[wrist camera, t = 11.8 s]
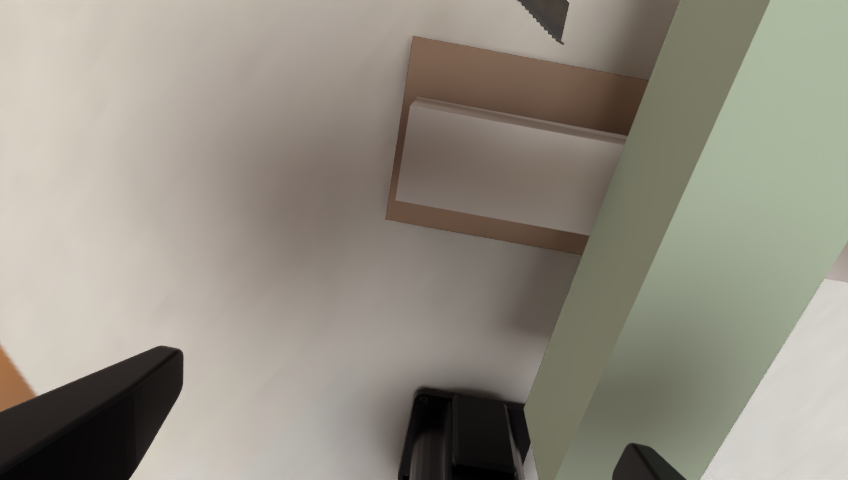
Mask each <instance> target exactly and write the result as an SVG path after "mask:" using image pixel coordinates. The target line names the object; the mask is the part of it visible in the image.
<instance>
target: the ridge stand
mask: <svg viewBox="0 0 848 480" xmlns="http://www.w3.org/2000/svg"><path fill="white" fill-rule="evenodd" d="M648 82H649V80H643V79H638V78H633V77H627V76H622V75H617V74H611V73H606V72H601V71H596V70H590V69H585V68H580V67H574V66H569V65H564V64H559V63H553V62H548V61H543V60H537V59H532V58H527V57H521V56H516V55H511V54H506V53H500V52H495V51H490V50H484V49H479V48H474V47H469V46H463V45H458V44H453V43H447V42H442V41H437V40H431V39H426V38H421V37H416V36H413V39H412V46H411V53H410V59H409V66H408V73H407V79H406V86H405V93H404V99H403V106H402V113H401V119H400V126H399V133H398V139H397V146H396V153H395V159H394V166H393V173H392V179H391V186H390V192H389V199H388V206H387V212H386V220H391V221H397V222H402V223H408V224H413V225H419V226H424V227H430V228H435V229H441V230H446V231H452V232H457V233H463V234H468V235H474V236H479V237H485V238H491V239H496V240H502V241H507V242H513V243H518V244H524V245H529V246H535V247H540V248H546V249H551V250H557V251H562V252H568V253H573V254H579V255H583V252H584V250H585V247H586V245H587V242H588V239H589V237H590V234H591V231H592V229H593V226H594V224H595V221H596V218H597V216H598V213H599V211H600V208H601V205H602V203H603V200H604V197H605V195H606V192H607V190H608V187H609V184H610V182H611V179H612V176H613V174H614V171H615V169H616V166H617V163H618V161H619V158H620V156H621V153H622V150H623V148H624V145H625V142H626V140H627V137H628V135H629V132H630V129H631V127H632V124H633V122H634V119H635V116H636V114H637V111H638V108H639V106H640V103H641V101H642V98H643V95H644V93H645V90H646V87H647V85H648ZM825 278H826V279H831V280H837V281H842V282H848V241H847V243H846V245H845V246H844V248H843V249H842V251H841V253H840V254H839V256H838V257H837V259H836V261H835V262H834V264H833V266H832V267H831V269H830V270H829V272H828V274H827V275H826V277H825Z"/></svg>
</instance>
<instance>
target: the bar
mask: <svg viewBox="0 0 848 480" xmlns="http://www.w3.org/2000/svg"><path fill="white" fill-rule="evenodd" d="M847 241H848V0H680V1H679V4H678V6H677V9H676V12H675V14H674V17H673V19H672V22H671V25H670V27H669V30H668V33H667V35H666V38H665V40H664V43H663V46H662V48H661V51H660V53H659V56H658V59H657V61H656V64H655V67H654V69H653V72H652V74H651V77H650V80H649V82H648V85H647V87H646V90H645V93H644V95H643V98H642V101H641V103H640V106H639V108H638V111H637V114H636V116H635V119H634V122H633V124H632V127H631V129H630V132H629V135H628V137H627V140H626V142H625V145H624V148H623V150H622V153H621V156H620V158H619V161H618V163H617V166H616V169H615V171H614V174H613V176H612V179H611V182H610V184H609V187H608V190H607V192H606V195H605V197H604V200H603V203H602V205H601V208H600V211H599V213H598V216H597V218H596V221H595V224H594V226H593V229H592V231H591V234H590V237H589V239H588V242H587V245H586V247H585V250H584V252H583V255H582V258H581V260H580V263H579V265H578V268H577V271H576V273H575V276H574V279H573V281H572V284H571V286H570V289H569V292H568V294H567V297H566V299H565V302H564V305H563V307H562V310H561V313H560V315H559V318H558V320H557V323H556V326H555V328H554V331H553V334H552V336H551V339H550V341H549V344H548V347H547V349H546V352H545V354H544V357H543V360H542V362H541V365H540V368H539V370H538V373H537V375H536V378H535V381H534V383H533V386H532V388H531V391H530V394H529V396H528V399H527V402H526V404H525V407H524V414H525V418H526V423H527V427H528V432H529V437H530V441H531V446H532V450H533V455H534V460H535V464H536V469H537V473H538V478H539V480H612V474H613V471H614V468H615V466H616V464H617V462H618V461H619V459H620V457H621V455H622V453H623V451H624V449H625V447H626V445H628V444H629V443H637V444H642V445H647V446H649V447H651V448H653V449H654V450H655V451H656V452H657V453H658V454H659V455H660V456H662V457H663V458H664V459H665V460H666V461H667V462H668V463H669V464H670V465H671V466H672V467H673V468H675V469H676V470H677V471H678V472H679V473H680V474H681V475H682V476H683V477H684V478H685V479H687V480H700V479H701V477H702V475H703V474H704V472H705V471H706V469H707V467H708V466H709V464H710V462H711V461H712V459H713V458H714V456H715V454H716V453H717V451H718V450H719V448H720V446H721V445H722V443H723V441H724V440H725V438H726V437H727V435H728V433H729V432H730V430H731V429H732V427H733V425H734V424H735V422H736V421H737V419H738V417H739V416H740V414H741V412H742V411H743V409H744V408H745V406H746V404H747V403H748V401H749V400H750V398H751V396H752V395H753V393H754V391H755V390H756V388H757V387H758V385H759V383H760V382H761V380H762V379H763V377H764V375H765V374H766V372H767V370H768V369H769V367H770V366H771V364H772V362H773V361H774V359H775V358H776V356H777V354H778V353H779V351H780V349H781V348H782V346H783V345H784V343H785V341H786V340H787V338H788V337H789V335H790V333H791V332H792V330H793V329H794V327H795V325H796V324H797V322H798V320H799V319H800V317H801V316H802V314H803V312H804V311H805V309H806V308H807V306H808V304H809V303H810V301H811V299H812V298H813V296H814V295H815V293H816V291H817V290H818V288H819V287H820V285H821V283H822V282H823V280H824V278H825V277H826V275H827V274H828V272H829V270H830V269H831V267H832V266H833V264H834V262H835V261H836V259H837V257H838V256H839V254H840V253H841V251H842V249H843V248H844V246H845V245H846V243H847Z"/></svg>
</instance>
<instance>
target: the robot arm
mask: <svg viewBox="0 0 848 480" xmlns="http://www.w3.org/2000/svg"><path fill="white" fill-rule="evenodd" d="M182 386H183V352H182V351H181V350H180V349H177V348H173V347H168V346H157V347H155V348H152V349H150V350H147V351H145V352H143V353H140V354H138V355H135V356H133V357H131V358H128V359H126V360H124V361H121V362H119V363H116V364H114V365H112V366H109V367H107V368H104V369H102V370H100V371H97V372H95V373H92V374H90V375H88V376H85V377H83V378H80V379H78V380H76V381H73V382H71V383H68V384H66V385H64V386H61V387H59V388H56V389H54V390H52V391H49V392H47V393H44V394H42V395H40V396H37V397H35V398H32V399H30V400H28V401H25V402H23V403H20V404H18V405H16V406H13V407H11V408H8V409H6V410H4V411H1V412H0V480H129V479H130V477H131V476H132V474H133V473H134V471H135V470H136V469H137V467H138V465H139V464H140V462H141V460H142V459H143V457H144V455H145V454H146V452H147V450H148V448H149V447H150V445H151V443H152V442H153V440H154V438H155V436H156V435H157V433H158V431H159V429H160V428H161V426H162V424H163V422H164V421H165V419H166V417H167V415H168V414H169V412H170V410H171V409H172V407H173V405H174V403H175V402H176V400H177V398H178V396H179V394H180V392H181V390H182ZM420 398H427V400H422V399H420ZM524 407H525V406H523V405H517V404H511V403H505V402H500V401H494V400H488V399H482V398H477V397H471V396H465V395H459V394H454V393H448V392H442V391H436V390H431V389H419V390H417V391H416V393H415V395H414V399H413V404H412V409H411V414H410V419H409V423H408V428H407V433H406V438H405V443H404V447H403V452H402V457H401V462H400V467H399V472H398V480H525V477H524V472H523V463H524V460H525V458H526V455H527V452H528V449H529V446H530V443H531V441H530V437H529V432H528V427H527V423H526V418H525V414H524ZM612 480H687V479H685V478H684V477H683V476H682V475H681V474H680V473H679V472H678V471H677V470H676V469H675V468H673V467H672V466H671V465H670V464H669V463H668V462H667V461H666V460H665V459H664V458H663V457H662V456H660V455H659V454H658V453H657V452H656V451H655V450H654V449H653V448H651V447H649V446H647V445H642V444H637V443H629V444H628V445H626V447H625V449H624V451H623V453H622V455H621V457H620V459H619V461H618V462H617V464H616V466H615V468H614V471H613V474H612Z"/></svg>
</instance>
